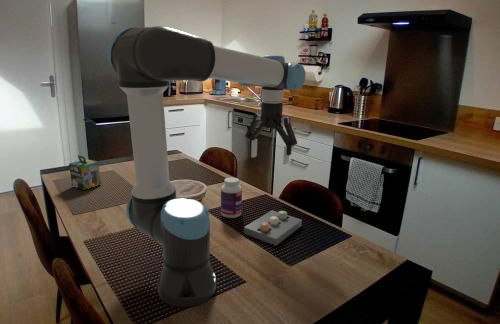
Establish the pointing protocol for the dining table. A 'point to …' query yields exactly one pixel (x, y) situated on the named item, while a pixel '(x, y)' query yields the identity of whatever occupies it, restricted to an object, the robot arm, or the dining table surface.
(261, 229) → the terracotta button
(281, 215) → the sage button
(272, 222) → the cream button
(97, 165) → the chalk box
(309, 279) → the dining table surface
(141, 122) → the robot arm
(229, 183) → the pill bottle
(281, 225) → the panel
